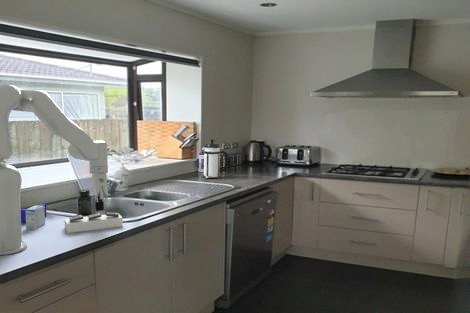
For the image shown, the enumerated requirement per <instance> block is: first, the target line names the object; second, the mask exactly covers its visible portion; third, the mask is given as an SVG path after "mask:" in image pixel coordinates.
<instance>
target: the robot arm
mask: <svg viewBox="0 0 470 313" xmlns="http://www.w3.org/2000/svg"><path fill="white" fill-rule="evenodd" d="M12 111H15V112H26V113H28V112H29V113H33V114H34V115H35V117H37V119H39V121H40V122H41V123H42V124H43V126H45V127H46V128H47V130H49V132H50V133H52V134H53V135H55V136H57V137H59V138H61V139H62V140H65V141H66V142H68V143H69V146H68V148H67V151H68V154H69V156H70V157H72V158H73V159H76V160H83V161H87V162H88V163H89V164H88V165H89V174H90V175H91V176H92V177H91V182H92V183H91V185H92V186H91V187H92V193H93V195H95V196H94V197H95V198H94V199H95V202H94V203H95V211H96V212H102V211H104V210H105V205H104V204H105V203H104V199H105V196H106V197H107V196H108V195H109V191H108V177H107V174H108V173H109V167H108V166H109V165H108V158H109V157H108V143H107V141H104V140H93V139H92V138H91V137H90V135H89V134H88V133H87V132H86V131H85V130H84V129H82V127H80V126H78V124H76V123H75V122H74V121H73V120H71V119H70V118H69V117H68V116H67V114H66V113H65V112H64V111H63V110H62V109H61V108H60V106H59V105H58V104H57V103H56V102H55V101H54V99H53V98H52V97H51V96H50V95H49V94H48V93H47V92H45V91H44V90H40V89H31V90H30V89H22V88H18V87H17V86H16V85H12V84H0V256H6V255H12V254H13V255H14V254H16V253H17V254H18V253H19V252H20V253H21V252H22V251H24V250H26V248H27V247H28V246H27V245H28V244H27V242H25V241H23V237H22V235H23V234H22V222H21V209H22V208H21V189H22V175H21V173H20V171H19V170H18V168H16V167H15V166H13V165H11V164H8V163H6V161H7V160H8V159H11V157H12V155H13V152H14V146H13V141H12V136H11V131H10V130H11V129H10V124H9V122H10V120H9V118H10V115H11V113H12Z"/></svg>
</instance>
